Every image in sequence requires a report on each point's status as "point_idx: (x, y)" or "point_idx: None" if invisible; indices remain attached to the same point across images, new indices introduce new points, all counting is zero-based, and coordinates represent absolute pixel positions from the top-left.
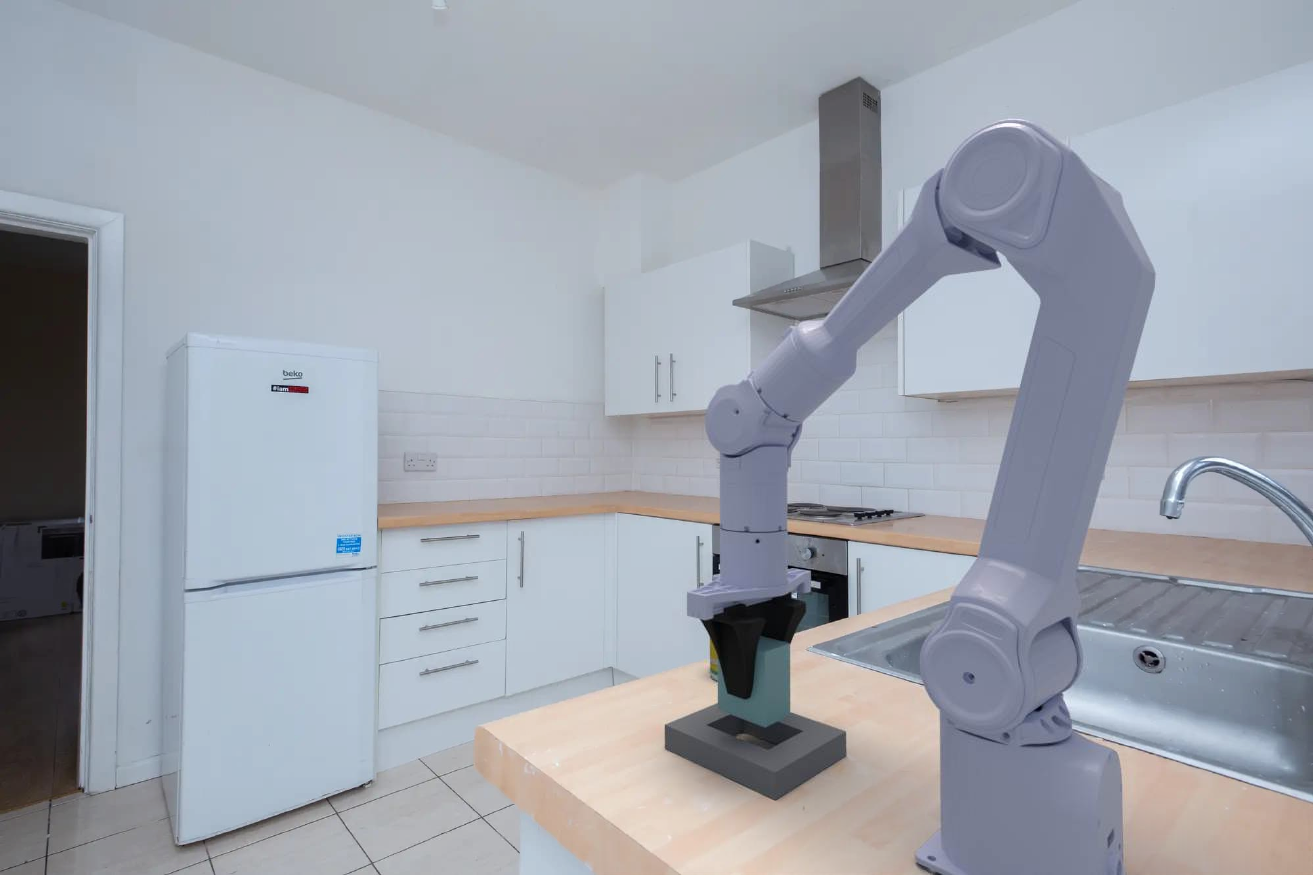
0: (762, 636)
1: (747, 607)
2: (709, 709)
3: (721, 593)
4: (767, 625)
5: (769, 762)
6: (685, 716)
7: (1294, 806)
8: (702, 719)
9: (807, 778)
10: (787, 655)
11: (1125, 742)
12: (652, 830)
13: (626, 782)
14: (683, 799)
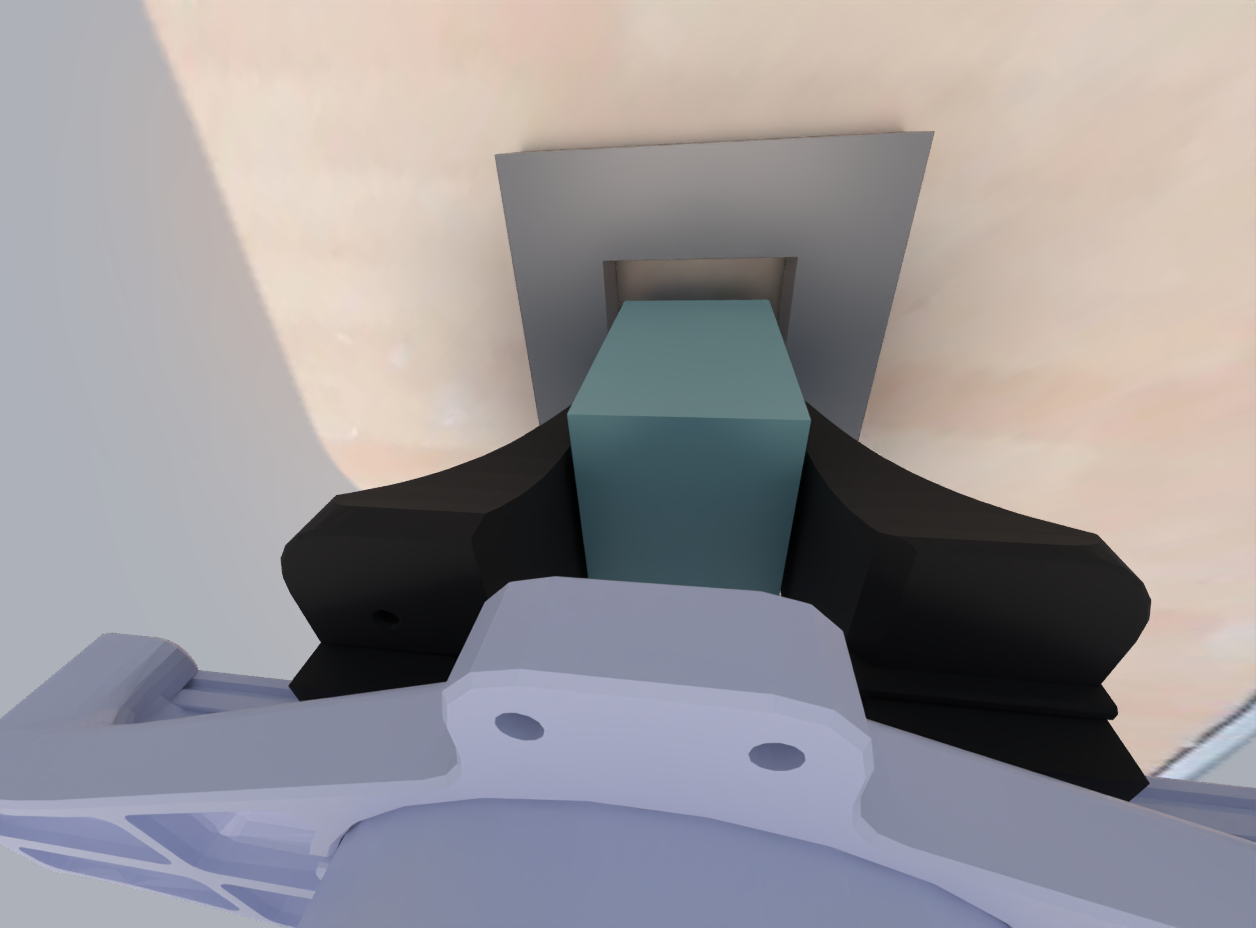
0: (784, 537)
1: (852, 549)
2: (709, 167)
3: (179, 894)
4: (804, 601)
5: None
6: (594, 153)
7: None
8: (624, 219)
9: None
10: None
11: (1185, 764)
12: (335, 403)
13: (347, 235)
14: (428, 375)
